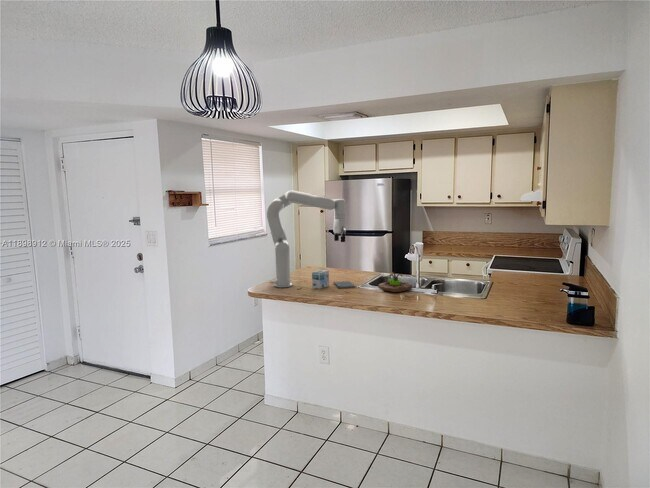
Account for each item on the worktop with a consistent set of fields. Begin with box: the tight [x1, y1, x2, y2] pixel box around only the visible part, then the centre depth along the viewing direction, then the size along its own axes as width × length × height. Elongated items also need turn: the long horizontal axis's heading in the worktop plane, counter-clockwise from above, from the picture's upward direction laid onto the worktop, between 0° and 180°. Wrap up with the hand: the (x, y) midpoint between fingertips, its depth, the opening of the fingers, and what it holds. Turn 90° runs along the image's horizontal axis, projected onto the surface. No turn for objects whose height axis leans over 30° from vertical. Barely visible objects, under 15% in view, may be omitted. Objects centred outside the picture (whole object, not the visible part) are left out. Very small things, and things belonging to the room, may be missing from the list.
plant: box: [378, 271, 413, 293], centre depth 264 cm, size 20×20×11 cm
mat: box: [333, 280, 356, 290], centre depth 274 cm, size 11×16×2 cm
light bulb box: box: [311, 269, 330, 290], centre depth 272 cm, size 11×7×11 cm, turn 143°
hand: (339, 241), depth 283 cm, fingers open, 9 cm apart
